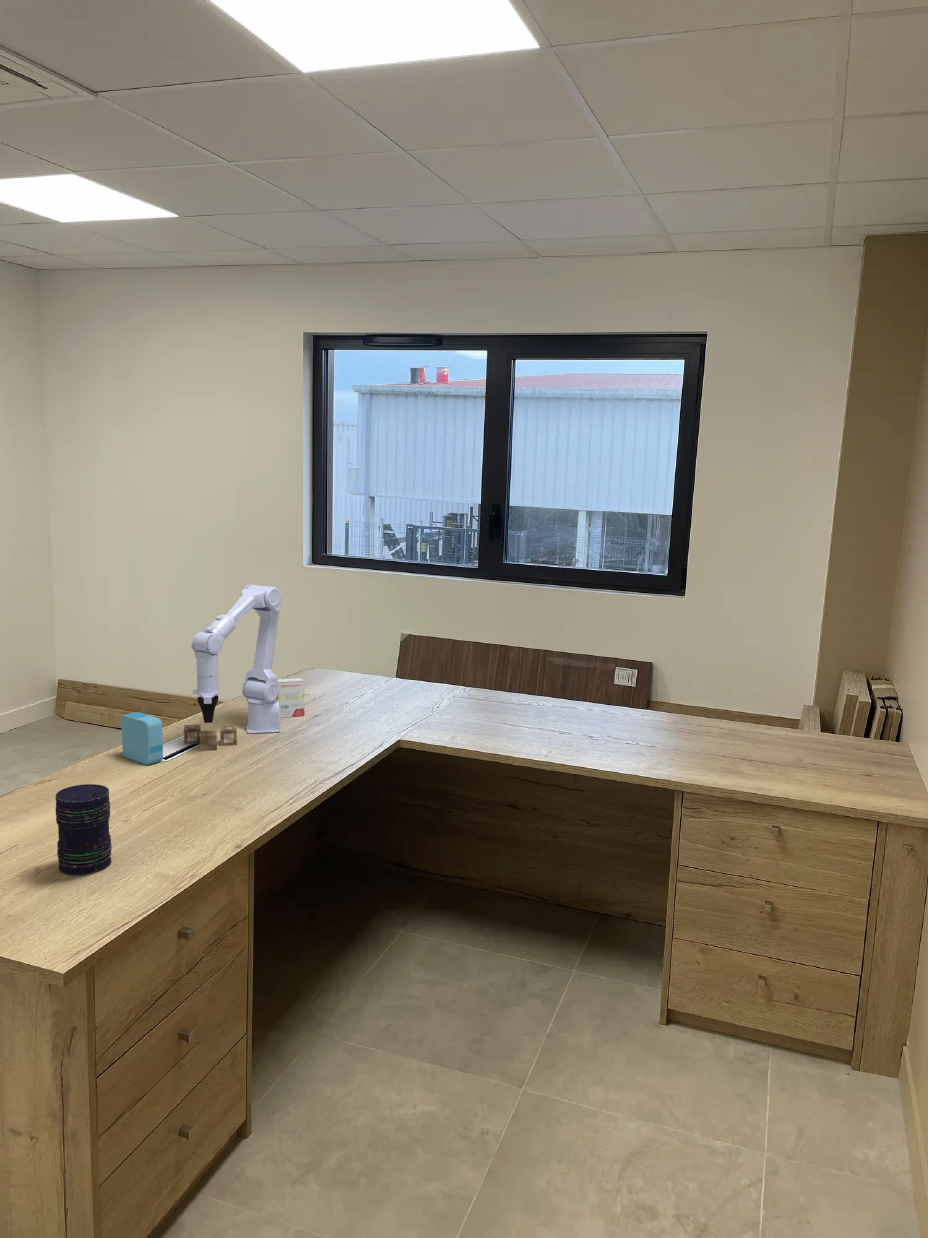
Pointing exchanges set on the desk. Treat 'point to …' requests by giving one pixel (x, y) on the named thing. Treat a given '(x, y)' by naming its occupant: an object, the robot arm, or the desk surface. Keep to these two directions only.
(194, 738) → the marked block 1
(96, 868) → the dark blue barrel
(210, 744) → the plain block
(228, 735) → the marked block 2
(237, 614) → the robot arm
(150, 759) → the data package
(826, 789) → the desk surface
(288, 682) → the ink box
